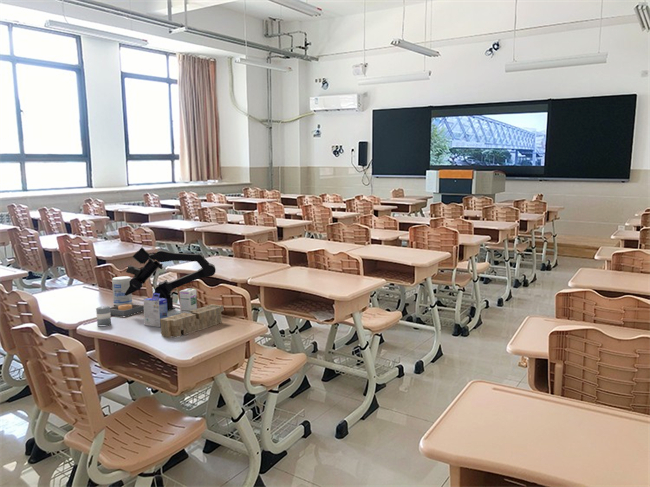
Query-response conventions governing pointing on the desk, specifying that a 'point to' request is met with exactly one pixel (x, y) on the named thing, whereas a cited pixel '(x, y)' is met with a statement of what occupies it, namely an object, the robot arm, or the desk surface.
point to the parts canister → (103, 315)
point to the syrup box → (188, 300)
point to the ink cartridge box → (154, 310)
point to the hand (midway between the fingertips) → (126, 293)
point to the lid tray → (135, 309)
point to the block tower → (191, 321)
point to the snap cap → (125, 307)
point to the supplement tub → (121, 290)
